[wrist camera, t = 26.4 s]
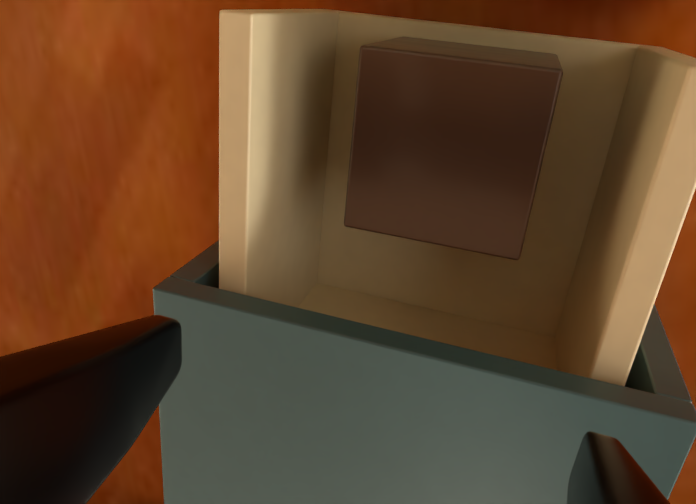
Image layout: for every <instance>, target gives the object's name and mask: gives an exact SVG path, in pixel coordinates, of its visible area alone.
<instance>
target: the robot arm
mask: <svg viewBox="0 0 696 504" xmlns="http://www.w3.org/2000/svg"><path fill="white" fill-rule="evenodd" d="M181 364H182V330H181V325H180V323H179V321H178V320H176V319H173V318H169V317H165V316H162V315H152V316H149V317H145V318H141V319H138V320H134V321H130V322H127V323H123V324H119V325H116V326H112V327H108V328H105V329H101V330H97V331H94V332H90V333H86V334H83V335H79V336H75V337H72V338H68V339H64V340H61V341H57V342H53V343H50V344H46V345H42V346H39V347H35V348H31V349H27V350H24V351H20V352H16V353H13V354H9V355H5V356H2V357H0V504H86V503H87V502H88V500H89V499H90V498H91V497H92V495H93V494H94V493H95V492H96V490H97V489H98V488H99V487H100V485H101V484H102V483H103V482H104V480H105V479H106V478H107V477H108V475H109V474H110V473H111V472H112V470H113V469H114V468H115V467H116V465H117V464H118V463H119V462H120V461H121V459H122V458H123V457H124V455H125V454H126V453H127V451H128V450H129V449H130V448H131V446H132V445H133V443H134V442H135V440H136V439H137V437H138V436H139V435H140V433H141V431H142V430H143V428H144V427H145V425H146V424H147V422H148V421H149V419H150V417H151V416H152V414H153V413H154V411H155V410H156V408H157V407H158V405H159V403H160V402H161V400H162V399H163V397H164V396H165V394H166V393H167V391H168V389H169V388H170V386H171V385H172V383H173V382H174V380H175V379H176V377H177V375H178V373H179V371H180V368H181ZM567 504H670V502H669V501H668V500H667V499H666V498H665V496H664V495H663V494H662V493H661V491H660V490H659V489H658V488H657V486H656V485H655V484H654V483H653V482H652V480H651V479H650V478H649V477H648V475H647V474H646V473H645V472H644V471H643V469H642V468H641V467H640V466H639V464H638V463H637V462H636V461H635V459H634V458H633V457H632V456H631V455H630V453H629V452H628V451H627V450H626V448H625V447H624V446H623V445H622V444H621V442H620V441H619V440H618V439H616V438H614V437H611V436H607V435H603V434H599V433H596V432H592V431H589V432H587V433H586V434H585V435H584V437H583V439H582V441H581V444H580V447H579V450H578V453H577V456H576V459H575V462H574V465H573V468H572V470H571V474H570V477H569V482H568V491H567Z"/></svg>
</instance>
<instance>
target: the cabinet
mask: <svg viewBox="0 0 696 504" xmlns="http://www.w3.org/2000/svg"><path fill="white" fill-rule="evenodd" d="M153 302H154V315H162V316H165V317H169V318H173V319H176V320H178V321H179V323H180V325H181V330H182V364H181V368H180V371H179V373H178V375H177V377H176V379H175V380H174V382H173V383H172V385H171V386H170V388H169V389H168V391H167V393H166V394H165V396H164V397H163V399H162V400H161V402H160V403H159V416H160V435H161V454H162V473H163V492H164V504H567V491H568V482H569V477H570V474H571V470H572V468H573V465H574V462H575V459H576V456H577V453H578V450H579V447H580V444H581V441H582V439H583V437H584V435H585V434H586V433H587V432H589V431H592V432H596V433H599V434H603V435H607V436H611V437H614V438H616V439H618V440H619V441H620V442H621V444H622V445H623V446H624V447H625V448H626V450H627V451H628V452H629V453H630V455H631V456H632V457H633V458H634V459H635V461H636V462H637V463H638V464H639V466H640V467H641V468H642V469H643V471H644V472H645V473H646V474H647V475H648V477H649V478H650V479H651V480H652V482H653V483H654V484H655V485H656V486H657V488H658V489H659V490H660V491H661V493H662V494H663V495H664V496H665V498H666V499H667V500H668V498H669V496H670V494H671V491H672V489H673V487H674V485H675V482H676V480H677V478H678V476H679V473H680V471H681V469H682V467H683V464H684V462H685V460H686V458H687V455H688V453H689V451H690V449H691V446H692V444H693V442H694V440H695V437H696V410H695V408H694V405H693V404H692V400H691V397H690V395H689V392H688V389H687V387H686V384H685V382H684V379H683V376H682V374H681V371H680V369H679V366H678V364H677V361H676V358H675V356H674V353H673V351H672V348H671V345H670V343H669V340H668V338H667V335H666V332H665V330H664V327H663V325H662V322H661V319H660V317H659V314H658V312H657V309H656V307H655V304H654V305H653V308H652V311H651V314H650V317H649V319H648V322H647V325H646V328H645V331H644V333H643V336H642V339H641V342H640V344H639V347H638V350H637V353H636V356H635V358H634V361H633V364H632V367H631V369H630V372H629V375H628V378H627V381H626V383H625V386H620V385H616V384H612V383H608V382H604V381H599V380H595V379H591V378H587V377H583V376H579V375H575V374H570V373H566V372H562V371H558V370H554V369H550V368H546V367H541V366H537V365H533V364H529V363H525V362H521V361H517V360H512V359H508V358H504V357H500V356H496V355H492V354H488V353H483V352H479V351H475V350H471V349H467V348H463V347H459V346H454V345H450V344H446V343H442V342H438V341H434V340H430V339H426V338H421V337H417V336H413V335H409V334H405V333H401V332H397V331H392V330H388V329H384V328H380V327H376V326H372V325H368V324H363V323H359V322H355V321H351V320H347V319H343V318H339V317H334V316H330V315H326V314H322V313H318V312H314V311H310V310H305V309H301V308H297V307H293V306H289V305H285V304H281V303H276V302H272V301H268V300H264V299H260V298H256V297H252V296H248V295H243V294H239V293H235V292H231V291H227V290H223V289H219V240H218V241H217V242H216V243H214V244H213V245H212V246H210V247H209V248H207V249H206V250H205V251H203V252H202V253H201V254H199V255H198V256H196V257H195V258H194V259H192V260H191V261H190V262H188V263H187V264H185V265H184V266H183V267H181V268H180V269H178V270H177V271H176V272H174V273H173V274H172V275H170V277H168V278H166V279H165V280H163V281H162V282H161V283H159V284H158V285H157V286H155V287H154V288H153Z"/></svg>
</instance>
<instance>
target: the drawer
mask: <svg viewBox="0 0 696 504" xmlns="http://www.w3.org/2000/svg"><path fill="white" fill-rule="evenodd" d="M403 36H404V37H413V38H422V39H431V40H439V41H448V42H457V43H466V44H474V45H483V46H492V47H500V48H509V49H518V50H527V51H535V52H544V53H553V54H556V55H557V56H558V58H559V61H560V64H561V67H562V69H563V77H562V81H561V85H560V90H559V94H558V98H557V103H556V107H555V111H554V115H553V120H552V124H551V128H550V133H549V137H548V141H547V145H546V150H545V154H544V158H543V162H542V167H541V171H540V175H539V180H538V184H537V188H536V192H535V197H534V201H533V205H532V210H531V214H530V218H529V222H528V227H527V231H526V235H525V240H524V244H523V248H522V252H521V257H520V259H519V260H512V259H507V258H502V257H497V256H492V255H487V254H482V253H477V252H472V251H467V250H462V249H456V248H451V247H446V246H441V245H436V244H431V243H426V242H421V241H416V240H411V239H406V238H401V237H396V236H391V235H386V234H381V233H375V232H370V231H365V230H360V229H355V228H350V227H346V226H344V215H345V204H346V193H347V182H348V171H349V160H350V149H351V138H352V128H353V117H354V106H355V95H356V84H357V73H358V62H359V51H360V47H361V46H362V45H365V44H370V43H375V42H379V41H384V40H389V39H393V38H398V37H403ZM695 189H696V58H694V57H691V56H688V55H685V54H682V53H679V52H676V51H673V50H670V49H666V48H664V47H658V46H649V45H640V44H631V43H622V42H614V41H605V40H596V39H587V38H578V37H569V36H561V35H552V34H543V33H534V32H525V31H516V30H508V29H499V28H490V27H481V26H472V25H463V24H455V23H446V22H437V21H428V20H419V19H410V18H402V17H393V16H384V15H375V14H366V13H357V12H349V11H340V10H331V9H241V10H220V12H219V289H223V290H227V291H231V292H235V293H239V294H243V295H248V296H252V297H256V298H260V299H264V300H268V301H272V302H276V303H281V304H285V305H289V306H293V307H297V308H301V309H305V310H310V311H314V312H318V313H322V314H326V315H330V316H334V317H339V318H343V319H347V320H351V321H355V322H359V323H363V324H368V325H372V326H376V327H380V328H384V329H388V330H392V331H397V332H401V333H405V334H409V335H413V336H417V337H421V338H426V339H430V340H434V341H438V342H442V343H446V344H450V345H454V346H459V347H463V348H467V349H471V350H475V351H479V352H483V353H488V354H492V355H496V356H500V357H504V358H508V359H512V360H517V361H521V362H525V363H529V364H533V365H537V366H541V367H546V368H550V369H554V370H558V371H562V372H566V373H570V374H575V375H579V376H583V377H587V378H591V379H595V380H599V381H604V382H608V383H612V384H616V385H620V386H625V383H626V381H627V378H628V375H629V372H630V369H631V367H632V364H633V361H634V358H635V356H636V353H637V350H638V347H639V344H640V342H641V339H642V336H643V333H644V331H645V328H646V325H647V322H648V319H649V317H650V314H651V311H652V308H653V305H654V303H655V300H656V297H657V294H658V292H659V289H660V286H661V283H662V280H663V278H664V275H665V272H666V269H667V267H668V264H669V261H670V258H671V255H672V253H673V250H674V247H675V244H676V242H677V239H678V236H679V233H680V230H681V228H682V225H683V222H684V219H685V217H686V214H687V211H688V208H689V205H690V203H691V200H692V197H693V194H694V192H695Z"/></svg>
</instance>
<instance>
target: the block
mask: <svg viewBox="0 0 696 504" xmlns="http://www.w3.org/2000/svg"><path fill="white" fill-rule="evenodd" d="M562 77H563V69H562V67H561V64H560V61H559V58H558V56H557V55H556V54H553V53H544V52H535V51H527V50H518V49H509V48H500V47H492V46H483V45H474V44H466V43H457V42H448V41H439V40H431V39H422V38H413V37H404V36H403V37H398V38H393V39H389V40H384V41H379V42H375V43H370V44H365V45H362V46H361V47H360V51H359V62H358V73H357V84H356V95H355V106H354V117H353V128H352V138H351V149H350V160H349V171H348V182H347V193H346V204H345V215H344V226H346V227H350V228H355V229H360V230H365V231H370V232H375V233H381V234H386V235H391V236H396V237H401V238H406V239H411V240H416V241H421V242H426V243H431V244H436V245H441V246H446V247H451V248H456V249H462V250H467V251H472V252H477V253H482V254H487V255H492V256H497V257H502V258H507V259H512V260H519V259H520V257H521V252H522V248H523V244H524V240H525V235H526V231H527V227H528V222H529V218H530V214H531V210H532V205H533V201H534V197H535V192H536V188H537V184H538V180H539V175H540V171H541V167H542V162H543V158H544V154H545V150H546V145H547V141H548V137H549V133H550V128H551V124H552V120H553V115H554V111H555V107H556V103H557V98H558V94H559V90H560V85H561V81H562Z"/></svg>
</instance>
